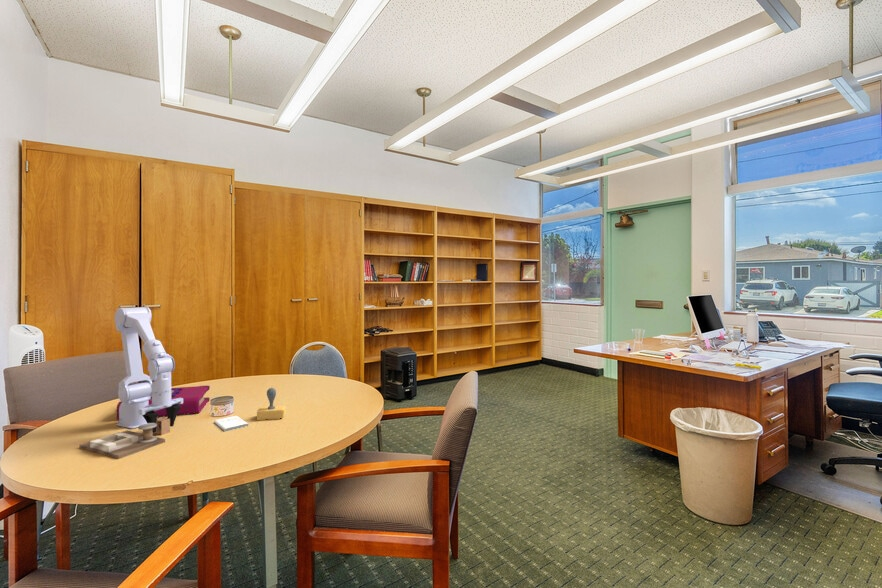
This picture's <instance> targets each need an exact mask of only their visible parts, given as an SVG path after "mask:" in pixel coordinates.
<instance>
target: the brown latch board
mask: <svg viewBox="0 0 882 588" xmlns="http://www.w3.org/2000/svg"><path fill="white" fill-rule="evenodd" d="M156 426H157V424H156V423H147V424H143V425H140V426H139V427H137V428H138V430H139V431H142V433H140V432H135V431H132V430H124V431H119V432H115V433H112V434H109V435H106V436H105V435H104V436H102V437H100V438H95V439H92V440H90V441H88V442H85V443H81V444H79V446H78V447H79V449H81V450H85V451H89V452H92V453H97V454H100V455H104V456H107V457H111V458H114V459H122V458H125V457H128V456H130V455H133V454H135V453H136V454H137V453H139V452H142V451H144V450H148V449H149V448H152V447H154V446H157V445H160V444H163V443H166V439H165V438H161V437H159V436H155V435H153V434H154V433H153V428H154V427H156Z"/></svg>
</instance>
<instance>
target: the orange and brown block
mask: <svg viewBox="0 0 882 588" xmlns="http://www.w3.org/2000/svg"><path fill="white" fill-rule="evenodd" d="M156 424H157V426H156V432H154V433H153V434H154V435H160V436H164V435H167V434H169V433H171V426H170V419H169V418H167V417H165V416H160V417H157V422H156Z"/></svg>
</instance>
